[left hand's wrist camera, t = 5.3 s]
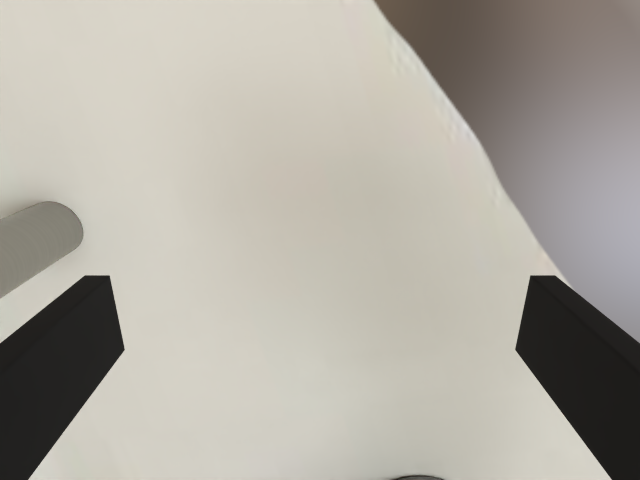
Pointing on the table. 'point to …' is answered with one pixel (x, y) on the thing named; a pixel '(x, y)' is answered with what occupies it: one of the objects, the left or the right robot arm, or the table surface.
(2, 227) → the jar
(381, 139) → the table surface
